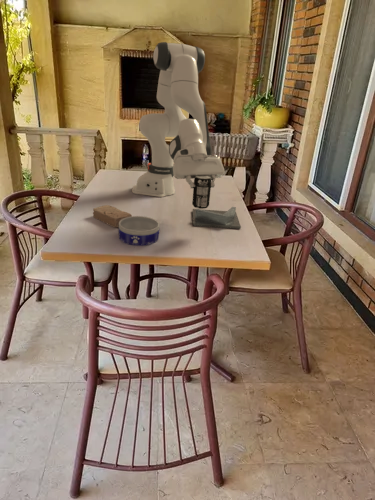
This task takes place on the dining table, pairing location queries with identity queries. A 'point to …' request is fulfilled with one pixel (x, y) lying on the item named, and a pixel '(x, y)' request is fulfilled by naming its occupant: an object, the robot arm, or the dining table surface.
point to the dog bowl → (139, 230)
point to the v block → (216, 218)
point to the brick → (110, 215)
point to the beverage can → (201, 191)
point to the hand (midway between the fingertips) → (202, 187)
